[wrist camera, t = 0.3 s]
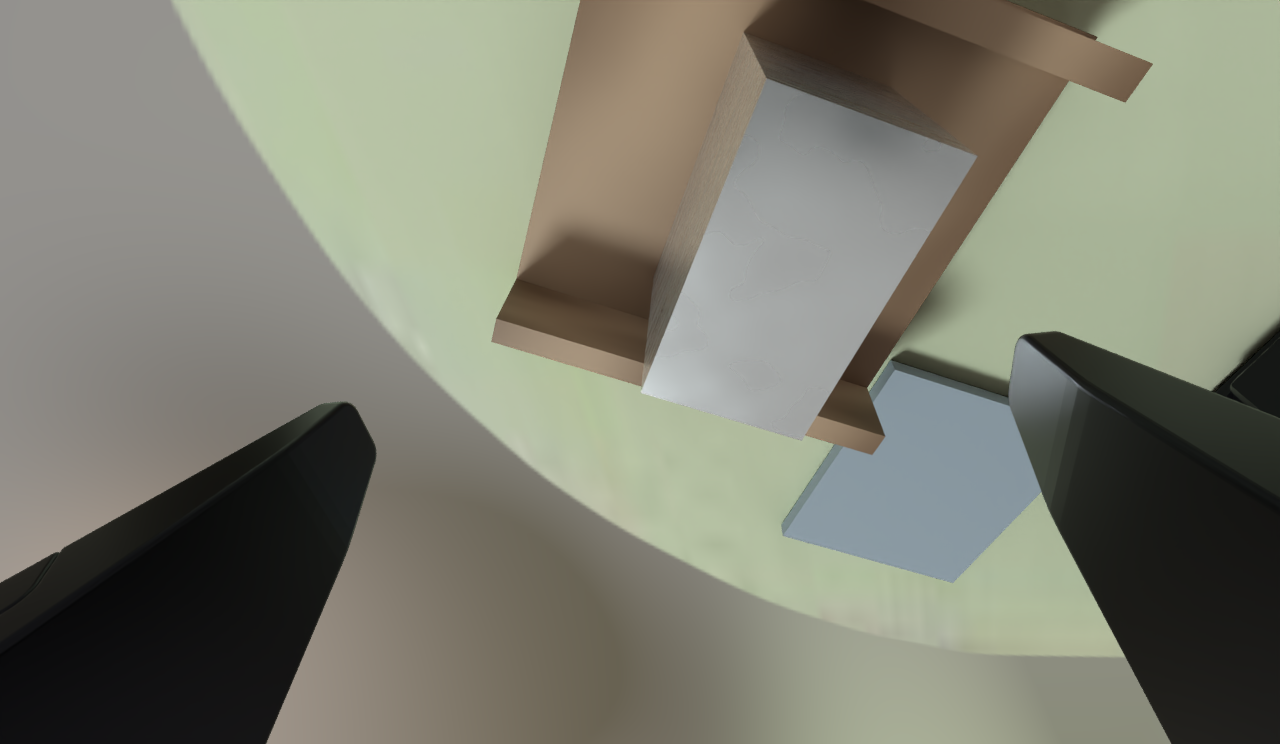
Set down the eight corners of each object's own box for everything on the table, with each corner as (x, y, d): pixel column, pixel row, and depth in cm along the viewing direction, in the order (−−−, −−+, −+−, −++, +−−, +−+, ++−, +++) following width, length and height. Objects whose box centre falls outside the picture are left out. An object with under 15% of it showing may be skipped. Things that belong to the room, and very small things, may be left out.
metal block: (891, 87, 16) (978, 156, 11) (774, 315, 20) (801, 440, 15) (743, 31, 16) (766, 78, 11) (653, 276, 20) (640, 392, 15)
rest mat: (1089, 423, 23) (1097, 433, 23) (948, 571, 28) (953, 582, 28) (890, 359, 23) (895, 369, 22) (781, 524, 28) (783, 535, 27)
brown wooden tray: (1067, 28, 17) (1160, 54, 13) (843, 384, 23) (869, 459, 20) (622, -150, 15) (603, -172, 12) (520, 284, 22) (490, 347, 19)
